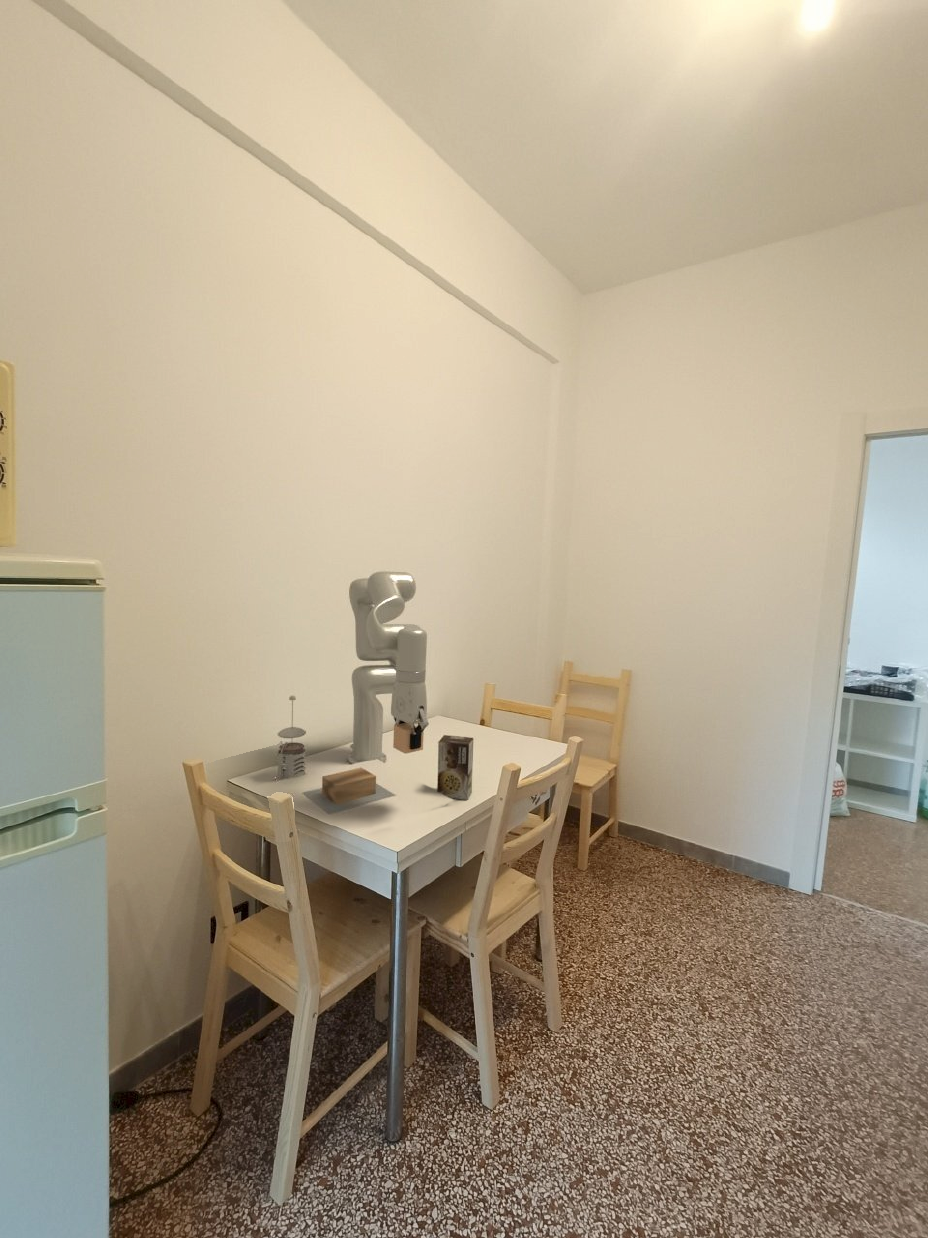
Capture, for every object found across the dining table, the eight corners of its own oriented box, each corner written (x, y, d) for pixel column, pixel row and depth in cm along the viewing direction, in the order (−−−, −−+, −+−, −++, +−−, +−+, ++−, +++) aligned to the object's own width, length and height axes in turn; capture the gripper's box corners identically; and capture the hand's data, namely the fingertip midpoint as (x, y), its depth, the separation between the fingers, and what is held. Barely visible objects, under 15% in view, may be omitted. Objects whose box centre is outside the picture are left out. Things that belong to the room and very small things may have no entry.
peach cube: (393, 747, 141) (394, 725, 141) (410, 743, 145) (411, 721, 144) (405, 753, 137) (406, 730, 137) (422, 749, 141) (423, 727, 140)
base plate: (301, 798, 149) (301, 793, 148) (365, 782, 162) (365, 777, 162) (328, 819, 137) (329, 814, 136) (395, 800, 150) (395, 795, 149)
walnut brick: (322, 794, 148) (322, 776, 148) (360, 784, 156) (361, 767, 155) (336, 804, 142) (336, 786, 142) (375, 793, 150) (376, 776, 149)
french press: (314, 774, 166) (316, 693, 164) (293, 788, 155) (294, 702, 153) (286, 770, 169) (287, 690, 167) (263, 783, 158) (264, 698, 155)
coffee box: (472, 791, 158) (474, 737, 156) (467, 800, 151) (469, 744, 150) (442, 787, 160) (444, 734, 158) (435, 796, 153) (438, 740, 152)
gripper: (380, 671, 143) (378, 738, 145) (418, 684, 130) (415, 757, 132) (403, 669, 148) (401, 734, 150) (443, 681, 135) (440, 752, 137)
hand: (408, 744), depth 141 cm, fingers closed on peach cube, 5 cm apart
